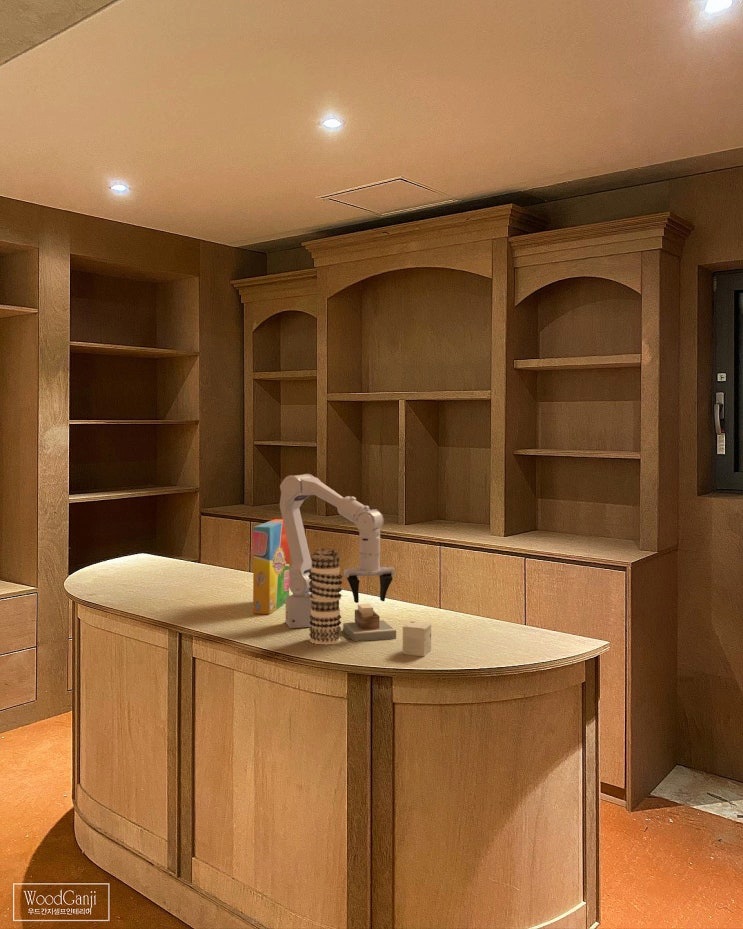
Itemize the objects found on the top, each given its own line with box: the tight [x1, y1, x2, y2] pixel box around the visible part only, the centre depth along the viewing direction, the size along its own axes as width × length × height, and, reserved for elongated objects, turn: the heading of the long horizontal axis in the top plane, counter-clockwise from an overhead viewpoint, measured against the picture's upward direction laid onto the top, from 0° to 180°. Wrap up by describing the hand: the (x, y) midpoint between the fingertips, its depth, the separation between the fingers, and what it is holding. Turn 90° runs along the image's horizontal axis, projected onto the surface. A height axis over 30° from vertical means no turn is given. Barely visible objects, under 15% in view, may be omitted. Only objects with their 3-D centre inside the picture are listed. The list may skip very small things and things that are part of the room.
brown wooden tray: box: [354, 609, 380, 629], centre depth 229 cm, size 5×9×3 cm, turn 14°
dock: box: [342, 619, 397, 642], centre depth 227 cm, size 12×12×2 cm
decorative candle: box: [308, 548, 343, 646], centre depth 219 cm, size 9×9×25 cm
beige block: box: [357, 603, 374, 617], centre depth 230 cm, size 3×5×3 cm, turn 16°
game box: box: [252, 518, 290, 615], centre depth 257 cm, size 21×6×27 cm, turn 168°
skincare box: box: [402, 620, 432, 657], centre depth 210 cm, size 6×6×7 cm
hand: (369, 601), depth 226 cm, fingers open, 7 cm apart
